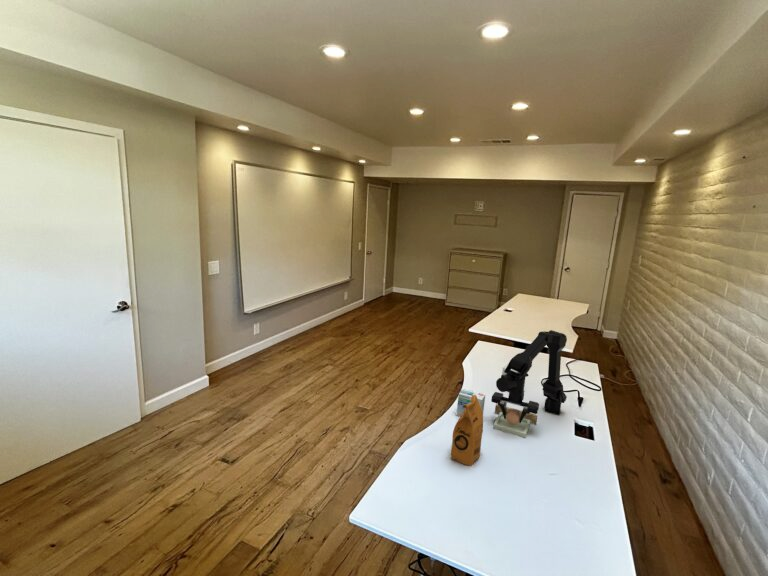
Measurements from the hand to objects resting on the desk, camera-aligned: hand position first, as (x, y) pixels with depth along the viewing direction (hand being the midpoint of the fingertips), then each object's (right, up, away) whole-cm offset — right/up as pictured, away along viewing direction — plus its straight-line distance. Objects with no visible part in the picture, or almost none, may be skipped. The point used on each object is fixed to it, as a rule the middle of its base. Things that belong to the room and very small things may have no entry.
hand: (512, 420), depth 164 cm
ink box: (+12, +4, +39) cm, 41 cm away
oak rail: (+4, -1, +7) cm, 8 cm away
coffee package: (-25, -5, -22) cm, 34 cm away
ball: (0, -1, 0) cm, 1 cm away
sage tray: (0, -2, 0) cm, 2 cm away
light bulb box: (-17, -1, +7) cm, 18 cm away
